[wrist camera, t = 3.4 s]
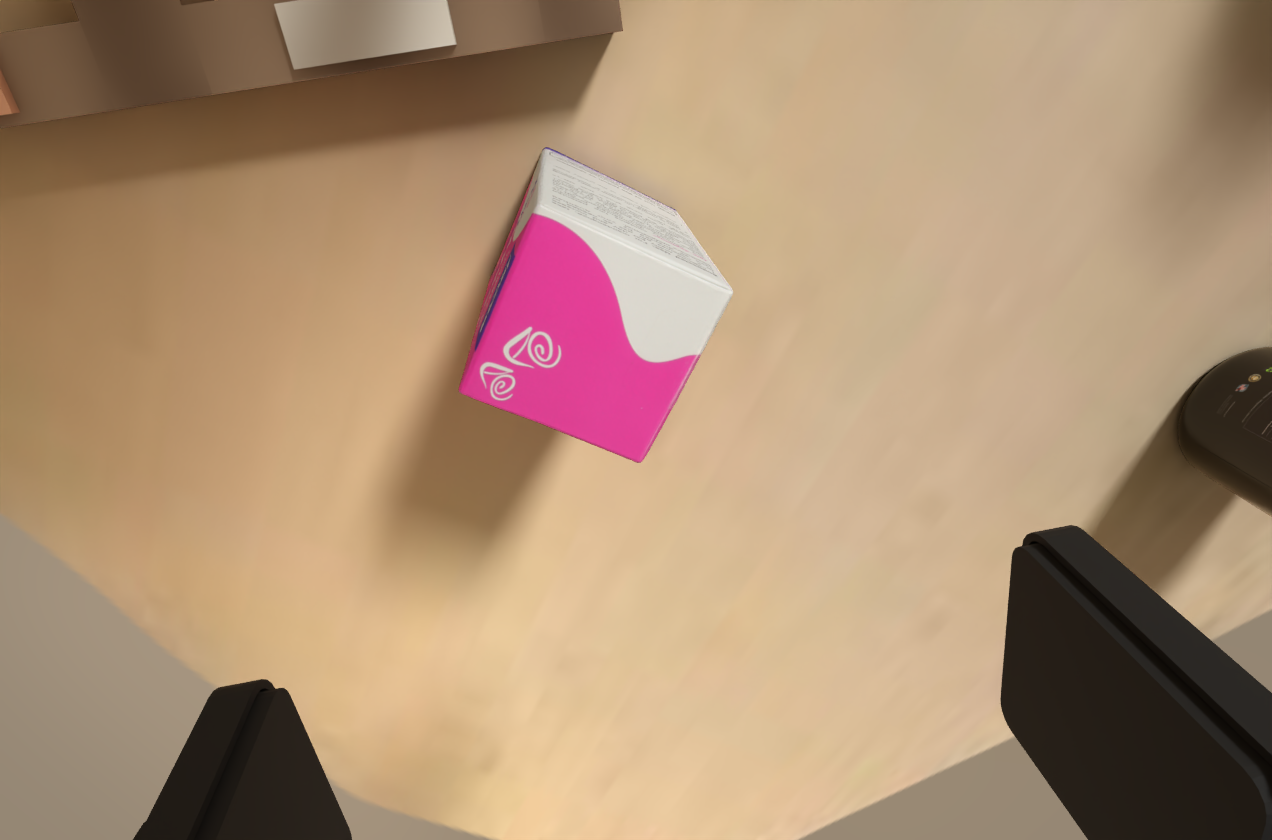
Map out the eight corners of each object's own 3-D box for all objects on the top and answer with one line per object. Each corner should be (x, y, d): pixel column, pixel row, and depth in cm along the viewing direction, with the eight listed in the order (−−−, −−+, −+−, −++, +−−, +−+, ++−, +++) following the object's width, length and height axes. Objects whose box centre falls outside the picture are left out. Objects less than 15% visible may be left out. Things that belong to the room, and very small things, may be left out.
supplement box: (538, 141, 29) (539, 194, 19) (678, 209, 31) (751, 292, 21) (480, 280, 31) (453, 398, 21) (615, 338, 33) (652, 473, 23)
